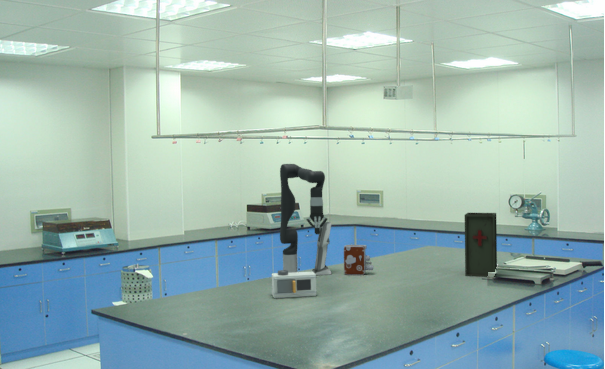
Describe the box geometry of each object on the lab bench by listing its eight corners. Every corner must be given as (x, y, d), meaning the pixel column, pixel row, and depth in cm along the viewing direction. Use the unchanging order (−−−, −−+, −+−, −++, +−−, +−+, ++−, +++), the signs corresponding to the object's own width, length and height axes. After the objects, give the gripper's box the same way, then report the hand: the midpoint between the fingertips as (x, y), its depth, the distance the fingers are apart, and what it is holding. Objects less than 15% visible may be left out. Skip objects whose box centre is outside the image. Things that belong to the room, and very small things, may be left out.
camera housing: (272, 294, 321) (271, 270, 321) (313, 292, 325) (312, 268, 325) (274, 298, 310) (273, 273, 310) (316, 296, 314) (316, 271, 314)
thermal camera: (333, 274, 378) (332, 223, 378) (314, 275, 376) (313, 223, 376) (329, 271, 390) (328, 221, 389) (311, 272, 388) (310, 222, 387)
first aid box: (465, 275, 365) (464, 214, 364) (468, 271, 382) (467, 212, 381) (495, 277, 358) (494, 215, 357) (497, 272, 375) (496, 212, 374)
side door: (277, 292, 311) (277, 280, 311) (295, 291, 313) (294, 279, 313) (278, 294, 307) (278, 281, 306) (296, 293, 308) (296, 280, 308)
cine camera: (372, 275, 372) (372, 245, 371) (343, 275, 376) (342, 245, 375) (373, 273, 381) (373, 244, 380) (345, 272, 385) (344, 243, 384)
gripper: (326, 204, 335) (326, 233, 335) (304, 204, 332) (305, 234, 333) (328, 204, 327) (329, 234, 328) (306, 205, 325) (307, 235, 325)
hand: (317, 234), depth 330 cm, fingers closed
